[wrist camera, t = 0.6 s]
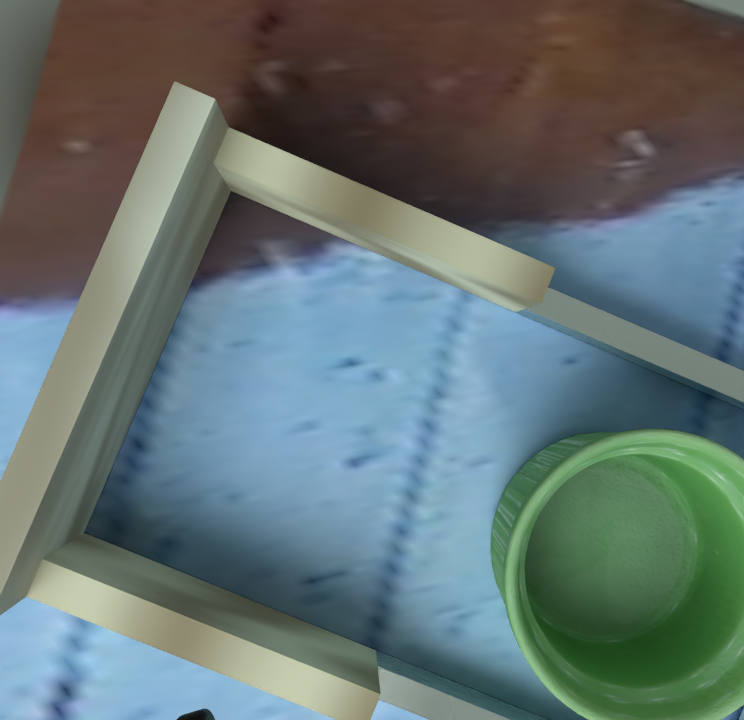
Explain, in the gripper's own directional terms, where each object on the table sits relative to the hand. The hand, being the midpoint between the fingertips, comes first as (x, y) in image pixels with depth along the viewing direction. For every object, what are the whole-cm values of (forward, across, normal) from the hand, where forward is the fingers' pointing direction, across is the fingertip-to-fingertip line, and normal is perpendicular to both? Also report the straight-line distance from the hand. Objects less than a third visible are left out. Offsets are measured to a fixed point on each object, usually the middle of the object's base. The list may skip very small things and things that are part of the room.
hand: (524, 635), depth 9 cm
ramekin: (+12, -6, +8) cm, 16 cm away
